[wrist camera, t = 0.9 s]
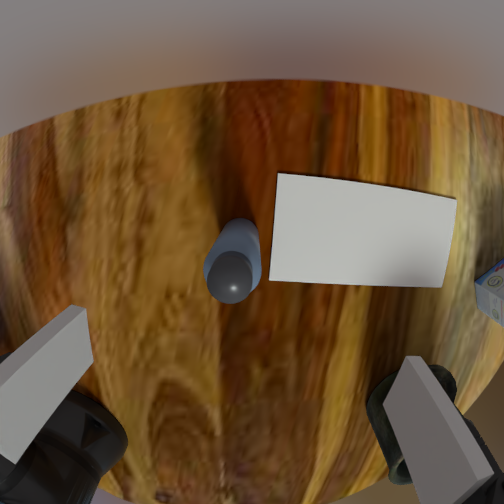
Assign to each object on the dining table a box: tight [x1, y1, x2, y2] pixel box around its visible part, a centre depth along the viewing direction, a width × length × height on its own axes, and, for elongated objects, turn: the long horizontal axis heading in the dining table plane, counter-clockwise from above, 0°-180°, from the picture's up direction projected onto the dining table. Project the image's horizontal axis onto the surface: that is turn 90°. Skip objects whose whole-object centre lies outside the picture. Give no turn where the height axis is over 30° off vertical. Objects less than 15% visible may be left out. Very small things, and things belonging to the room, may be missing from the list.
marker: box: [203, 218, 261, 304], centre depth 21 cm, size 3×3×12 cm
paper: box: [269, 173, 457, 288], centre depth 27 cm, size 20×10×1 cm, turn 86°
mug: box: [367, 365, 474, 485], centre depth 26 cm, size 11×15×12 cm
